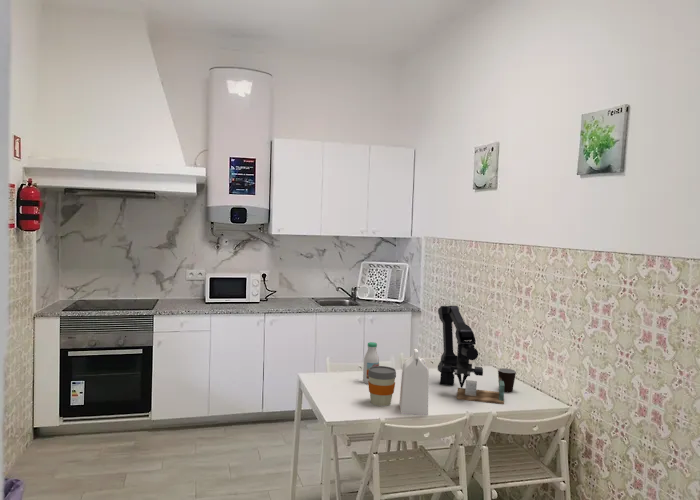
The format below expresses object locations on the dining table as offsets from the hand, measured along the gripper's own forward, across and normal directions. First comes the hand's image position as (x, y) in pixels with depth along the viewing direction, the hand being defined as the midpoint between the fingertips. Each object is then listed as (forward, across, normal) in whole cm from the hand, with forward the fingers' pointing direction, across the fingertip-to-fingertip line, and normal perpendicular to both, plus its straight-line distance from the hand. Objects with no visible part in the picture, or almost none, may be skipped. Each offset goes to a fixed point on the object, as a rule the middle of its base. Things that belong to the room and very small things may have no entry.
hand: (461, 387), depth 267 cm
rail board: (+4, +9, 0) cm, 10 cm away
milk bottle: (+4, -45, +6) cm, 45 cm away
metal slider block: (+3, +4, 0) cm, 5 cm away
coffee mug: (+4, +21, +18) cm, 28 cm away
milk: (+4, -20, -27) cm, 34 cm away
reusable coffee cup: (+4, -34, -23) cm, 42 cm away
